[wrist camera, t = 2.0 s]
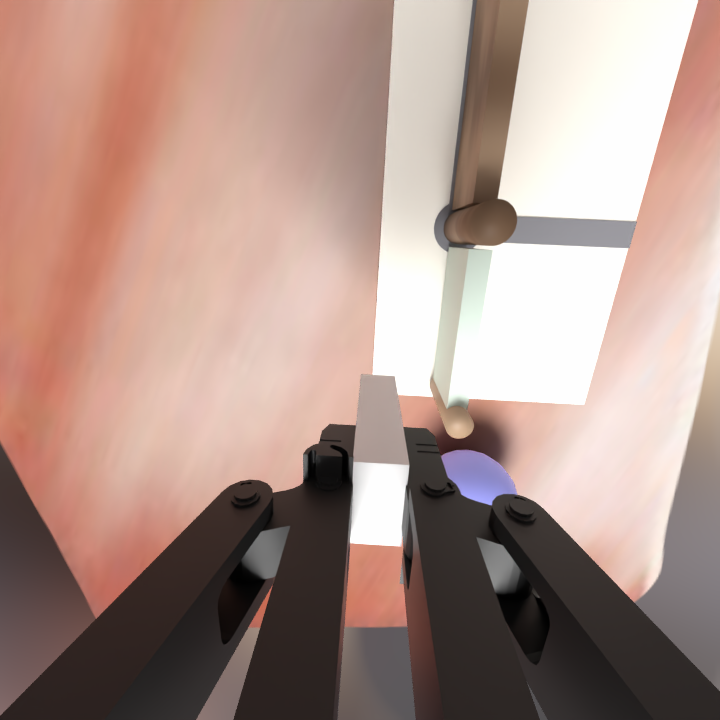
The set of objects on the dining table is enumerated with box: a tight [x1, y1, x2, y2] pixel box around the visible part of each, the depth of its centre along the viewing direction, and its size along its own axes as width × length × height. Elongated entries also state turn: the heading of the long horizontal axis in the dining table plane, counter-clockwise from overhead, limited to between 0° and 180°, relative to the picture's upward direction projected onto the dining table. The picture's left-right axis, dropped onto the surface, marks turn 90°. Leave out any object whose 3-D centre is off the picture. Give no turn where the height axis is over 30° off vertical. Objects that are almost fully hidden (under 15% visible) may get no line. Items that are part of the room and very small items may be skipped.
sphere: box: [441, 450, 517, 505], centre depth 26 cm, size 7×7×7 cm
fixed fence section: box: [444, 0, 529, 246], centre depth 17 cm, size 14×2×7 cm, turn 178°
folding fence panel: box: [430, 247, 493, 439], centre depth 21 cm, size 10×2×6 cm, turn 178°
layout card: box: [373, 0, 698, 405], centre depth 22 cm, size 26×16×1 cm, turn 178°
